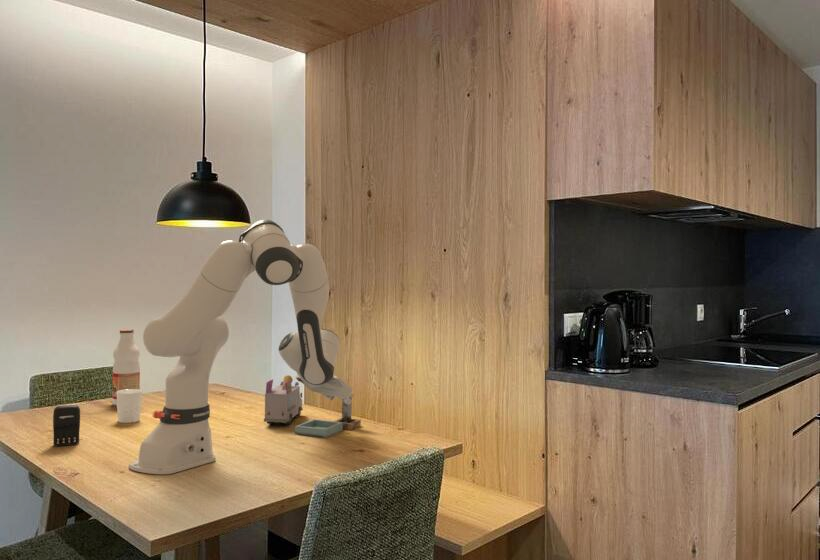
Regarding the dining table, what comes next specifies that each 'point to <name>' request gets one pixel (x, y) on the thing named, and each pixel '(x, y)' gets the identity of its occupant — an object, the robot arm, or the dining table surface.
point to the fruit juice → (125, 364)
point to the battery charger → (66, 425)
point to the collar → (350, 424)
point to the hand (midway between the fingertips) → (340, 400)
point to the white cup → (129, 405)
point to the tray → (319, 428)
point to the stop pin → (347, 410)
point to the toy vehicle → (282, 402)
